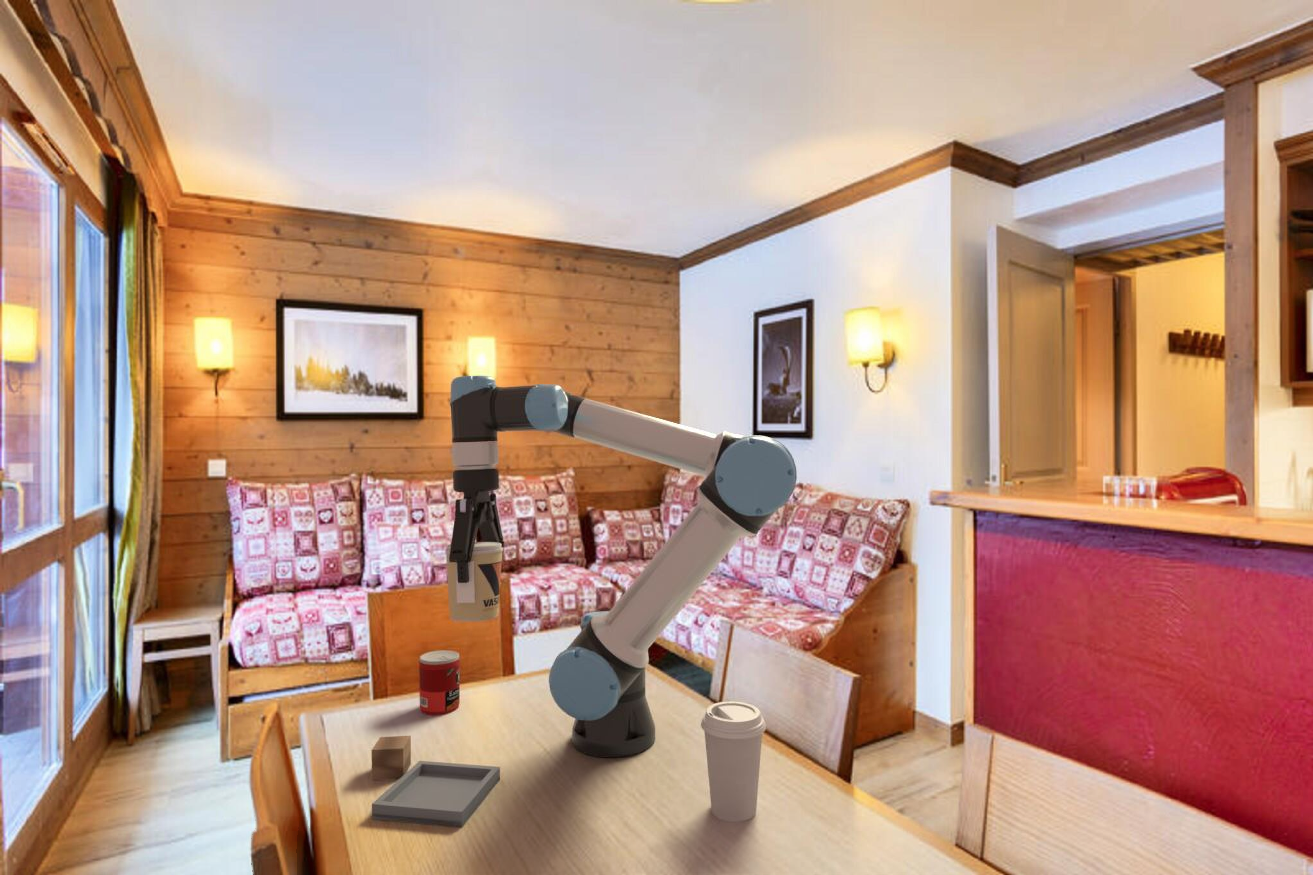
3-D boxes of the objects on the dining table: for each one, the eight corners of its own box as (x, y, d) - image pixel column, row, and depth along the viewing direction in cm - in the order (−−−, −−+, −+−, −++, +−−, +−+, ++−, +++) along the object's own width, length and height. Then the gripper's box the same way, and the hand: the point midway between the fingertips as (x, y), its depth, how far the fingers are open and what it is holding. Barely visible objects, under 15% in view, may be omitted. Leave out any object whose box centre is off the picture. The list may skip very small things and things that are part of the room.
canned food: (453, 716, 141) (453, 661, 141) (413, 716, 141) (413, 661, 141) (464, 702, 149) (464, 649, 149) (426, 702, 149) (426, 650, 149)
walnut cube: (410, 764, 121) (410, 735, 121) (403, 778, 116) (403, 748, 116) (380, 766, 120) (380, 737, 120) (371, 780, 115) (371, 749, 115)
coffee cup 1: (491, 623, 112) (491, 546, 113) (435, 622, 113) (435, 546, 114) (510, 612, 121) (510, 541, 122) (458, 611, 123) (458, 541, 123)
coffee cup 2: (700, 796, 109) (699, 699, 109) (762, 796, 109) (761, 699, 109) (702, 830, 100) (701, 723, 100) (770, 831, 99) (769, 724, 99)
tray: (499, 780, 115) (499, 766, 115) (462, 827, 101) (461, 811, 101) (419, 773, 117) (419, 760, 117) (371, 818, 103) (371, 803, 103)
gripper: (478, 465, 132) (482, 579, 132) (424, 471, 108) (429, 611, 107) (517, 464, 132) (521, 578, 132) (472, 470, 107) (477, 610, 107)
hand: (480, 593), depth 120 cm, fingers open, 13 cm apart
